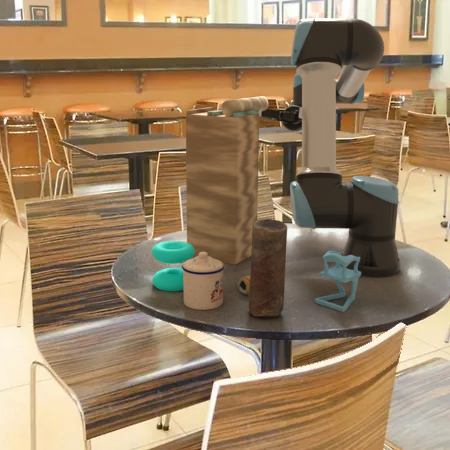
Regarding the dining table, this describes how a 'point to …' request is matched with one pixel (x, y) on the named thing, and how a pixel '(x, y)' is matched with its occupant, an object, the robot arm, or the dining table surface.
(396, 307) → the dining table surface
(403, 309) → the dining table surface
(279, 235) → the brown upright cylinder
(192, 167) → the tall wooden crate
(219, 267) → the teacup with lid
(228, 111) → the cream rounded cylinder
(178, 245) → the donuts
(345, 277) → the chair
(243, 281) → the pastry
